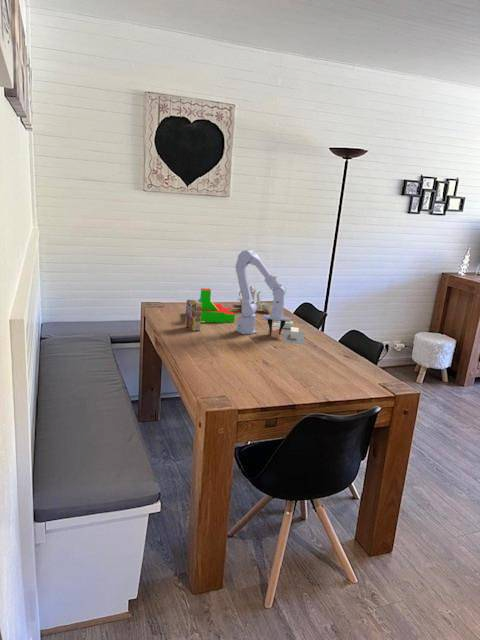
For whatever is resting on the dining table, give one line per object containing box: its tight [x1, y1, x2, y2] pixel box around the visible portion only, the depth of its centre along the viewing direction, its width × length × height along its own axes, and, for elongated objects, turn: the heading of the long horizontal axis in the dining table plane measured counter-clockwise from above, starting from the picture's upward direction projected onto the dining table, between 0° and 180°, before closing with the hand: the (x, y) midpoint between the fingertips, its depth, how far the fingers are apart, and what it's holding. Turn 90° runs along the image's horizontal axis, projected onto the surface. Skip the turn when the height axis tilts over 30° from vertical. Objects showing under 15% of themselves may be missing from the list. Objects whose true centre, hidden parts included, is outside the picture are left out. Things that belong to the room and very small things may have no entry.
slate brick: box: [272, 321, 280, 330], centre depth 262 cm, size 8×4×4 cm, turn 174°
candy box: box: [184, 298, 202, 332], centre depth 252 cm, size 9×4×15 cm, turn 39°
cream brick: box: [290, 326, 300, 339], centre depth 252 cm, size 8×4×4 cm, turn 174°
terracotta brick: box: [270, 327, 280, 339], centre depth 252 cm, size 8×4×4 cm, turn 174°
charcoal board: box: [282, 329, 306, 345], centre depth 253 cm, size 22×11×1 cm, turn 174°
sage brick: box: [277, 320, 294, 330], centre depth 269 cm, size 8×4×4 cm, turn 84°
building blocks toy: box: [197, 287, 236, 324], centre depth 275 cm, size 19×25×18 cm
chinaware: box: [236, 285, 273, 313], centre depth 303 cm, size 28×17×17 cm, turn 58°
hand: (275, 333), depth 253 cm, fingers closed on terracotta brick, 4 cm apart
